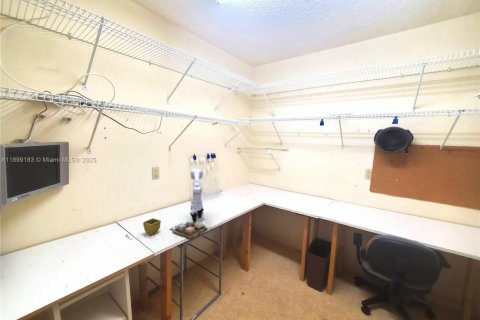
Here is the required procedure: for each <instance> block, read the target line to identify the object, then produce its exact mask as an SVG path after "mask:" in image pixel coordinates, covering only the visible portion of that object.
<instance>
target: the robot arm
mask: <svg viewBox="0 0 480 320" xmlns="http://www.w3.org/2000/svg"><path fill="white" fill-rule="evenodd" d="M203 174H204V173H203V168H190V178H191V180H193V181H192V199H191V201H190V213H189V215H190V217H191V219H190V220H193V222H195V223H197V222H200V223H201V221H203V220H205V218H204V210H205V209H204V207H203V200H202V193H203V188H202V187H203V186H202V181H201V180H202V179H203V176H204V175H203Z"/></svg>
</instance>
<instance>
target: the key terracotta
mask: <svg viewBox="0 0 480 320" xmlns="http://www.w3.org/2000/svg"><path fill="white" fill-rule="evenodd" d="M193 231H195V228H194V227H191V226H190V227H188V228H186V232H188V233H191V232H193Z"/></svg>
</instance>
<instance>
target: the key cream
mask: <svg viewBox="0 0 480 320" xmlns="http://www.w3.org/2000/svg"><path fill="white" fill-rule="evenodd" d="M203 225H204V224H203V222H201V221H200V222H197V223H195V224H194V227H197V228H200V227H202V226H203Z"/></svg>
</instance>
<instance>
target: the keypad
mask: <svg viewBox="0 0 480 320" xmlns="http://www.w3.org/2000/svg"><path fill="white" fill-rule="evenodd" d="M183 224H184V225H186V228H188V227H190V225H187V224H186V223H183ZM191 227H194V224H193V225H191ZM186 228H185V229H183V230H180V229H178V228H176V229H175V230H173V231H172V230H171V231H172V233H171V234H173V235H176V236H179V237H181V238H183V239H186V240H189V241H192V240H193V239H195V238H197V237H199V236H200V235H201V234H203V233H205V232H206V231H208V227H207V226H205V225H204V224H203V226H202V227H200V228H197V227H194V228H195V231H193V232H191V233H188V232H186Z"/></svg>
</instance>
